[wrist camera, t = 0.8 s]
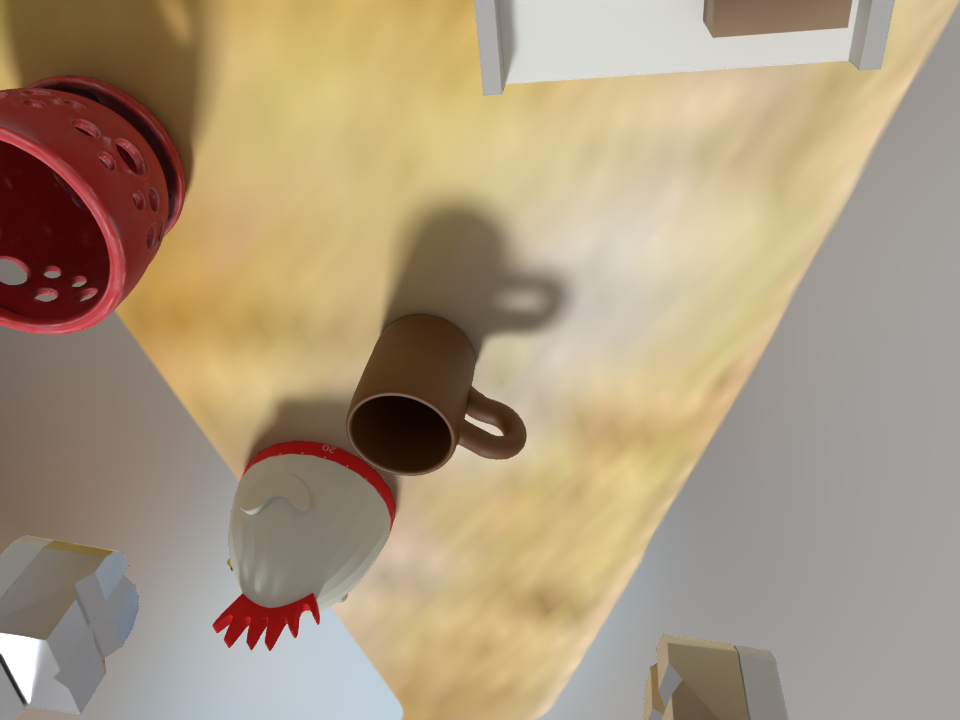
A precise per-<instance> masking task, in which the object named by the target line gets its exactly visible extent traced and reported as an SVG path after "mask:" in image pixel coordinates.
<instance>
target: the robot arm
mask: <svg viewBox="0 0 960 720" xmlns="http://www.w3.org/2000/svg"><path fill="white" fill-rule="evenodd" d="M128 567H129V565H128V562H127V560H126V557H125V555H124V552H120V551H115V550H109V549H103V548H97V547H91V546H86V545H80V544H73V543H68V542H61V541H58V540H52V539H46V538H39V537H32V536H26V535H24V536H22V537H21V538H19V539H17V540H16V541H14V542H12V543H11V544H10V545H9V546H8V548H7V549H6V550H5V551H4V552H3V553H2V555H1V556H0V720H14V719H15V718H16V717H17V716H18V715H20V714H21V713H23V712H24V711H25V707H32V708H39V709H46V710H53V711H60V712H67V713H74V714H80V715H81V713H82V712H83V710H84V708H85V707H86V705H87V703H88V702H89V700H90V699H91V697H92V695H93V694H94V692H95V690H96V688H97V687H98V685H99V684H100V682H101V681H102V679H103V677H104V676H105V674H106V669H105V660H104V658H105V657H107V656H109V655H110V654H112V653H113V652H115V651H116V650H118V649H119V648H121V647H122V646H123V644H124V643H125V641H126V639H127V638H128V636H129V634H130V632H131V631H132V628H133V625H134V622H135V619H136V616H137V613H138V601H139V599H138V598H139V596H138V593H137V590H136V586H135V585H134V584H133V583H132V582H131V581H130V580H129V579H128V578H126V577H125V576H124V573H125V572H126V570H127V569H128ZM656 651H657V663H656V664H655V665H653V666H651V667H650V670H649V674H648V677H647V681H646V688H645V695H644V720H789V719H788V714H787V709H786V705H785V700H784V695H783V691H782V686H781V682H780V677H779V672H778V668H777V663H776V659H775V657H774V656H773V654H772V653H771V651H769V650H765V649H758V648H751V647H742V646H735V645H732V644H731V643H723V642H717V641H709V640H702V639H694V638H687V637H680V636H673V635H666V634H663V635H662V636H661V638H660V639H659V642H658V646H657V649H656ZM24 706H25V707H24Z"/></svg>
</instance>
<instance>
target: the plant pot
mask: <svg viewBox="0 0 960 720" xmlns="http://www.w3.org/2000/svg"><path fill="white" fill-rule="evenodd" d="M184 198H185V179H184V173H183V168H182V164H181V161H180V158H179V155H178V153H177V150H176V148H175V146H174V144H173V143H172V141H171V139H170V137H169V136H168V134H167V133H166V131H165V130H164V128H163V127H162V125H161V124H160V123H159V122H158V121H157V120H156V119H155V117H154V116H153V115H152V114H151V113H150V112H149V111H148V110H147V109H146V108H145V107H144V106H143V105H141V104H140V103H139V102H137V101H136V100H135V99H133V98H132V97H131V96H129V95H128V94H126V93H124V92H123V91H121V90H119V89H117V88H115V87H113V86H111V85H109V84H106V83H103V82H101V81H98V80H95V79H91V78H86V77H80V76H70V75H68V76H55V77H49V78H46V79H43V80H40V81H37V82H35V83H33V84H31V85H29V86H28V87H27V88H17V89H7V90H1V91H0V259H7V260H10V261H13V262H15V263H16V264H18V265H19V266H20V267H22V268H23V269H24V271H25V272H26V274H27V281H26V282H24V283H23V284H19V285H7V284H4V283H2V282H0V325H3V326H6V327H9V328H13V329H17V330H20V331H24V332H30V333H37V334H66V333H73V332H77V331H81V330H84V329H88V328H90V327H92V326H95V325H96V324H98V323H99V322H101V321H102V320H104V319H105V318H106V317H107V316H109V315H110V314H111V313H112V312H113V311H114V310H115V309H116V307H117V306H118V305H119V304H120V303H121V302H122V301H123V300H124V299H125V298H126V297H127V296H128V295H129V293H130V292H131V291H132V290H133V289H134V287H135V286H136V285H137V283H138V282H139V280H140V279H141V277H142V276H143V274H144V272H145V270H146V269H147V267H148V265H149V264H150V263H151V261H152V260H153V258H154V257H155V255H156V253H157V251H158V249H159V247H160V245H161V242H162V239H163V237H164V236H165V235H166V234H167V233H168V232H169V231H170V230H171V229H172V228H173V226H174V225H175V223H176V222H177V220H178V218H179V216H180V214H181V211H182V208H183V204H184ZM48 271H56V272H58V273H60V274H61V275H60V276H59V277H57V278H53V279H51V278H47V277H46V276H44V273H46V272H48ZM77 282H86V283H85V284H84V285H82V286H81V287H72V285H73V284H75V283H77ZM42 294H50V295H54V296H56V297H57V298H56V299H55V300H52V301H49V302H43V301H40V300H37V299H34V298H35V297H36V296H38V295H42ZM95 294H96V295H95ZM89 295H94V296H93V297H92V298H90V299H88V300H85V301H80V300H82V299H83V298H85V297H87V296H89Z"/></svg>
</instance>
